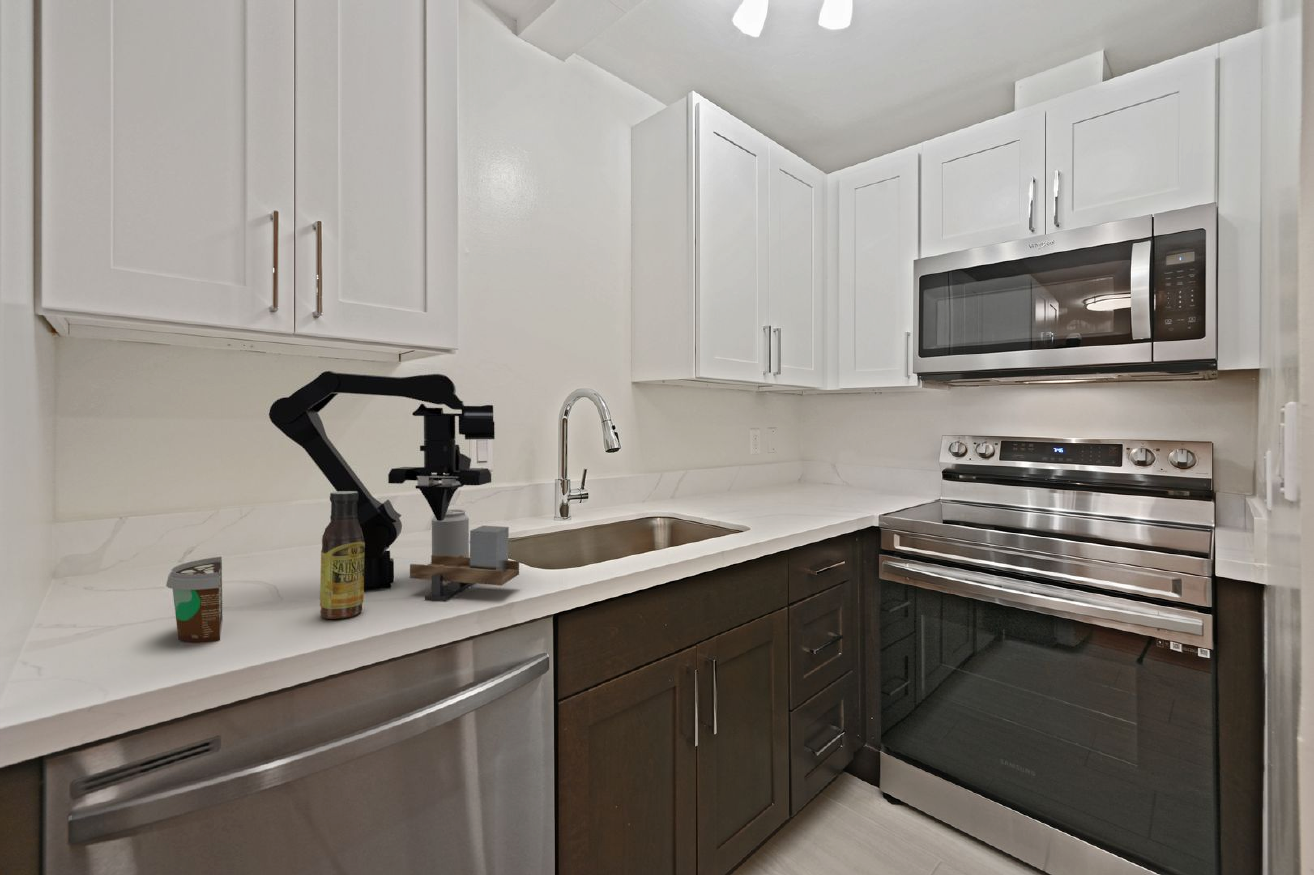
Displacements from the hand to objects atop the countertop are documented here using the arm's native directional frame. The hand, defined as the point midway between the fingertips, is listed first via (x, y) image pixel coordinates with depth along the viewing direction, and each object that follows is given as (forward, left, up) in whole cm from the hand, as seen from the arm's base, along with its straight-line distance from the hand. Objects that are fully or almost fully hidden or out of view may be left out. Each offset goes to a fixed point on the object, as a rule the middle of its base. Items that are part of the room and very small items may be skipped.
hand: (440, 520), depth 112 cm
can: (+3, +12, -12) cm, 17 cm away
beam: (+4, -9, -9) cm, 13 cm away
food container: (-35, -14, -12) cm, 40 cm away
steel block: (+7, -11, -8) cm, 16 cm away
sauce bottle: (-16, -13, -12) cm, 24 cm away
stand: (+1, -7, -12) cm, 14 cm away
